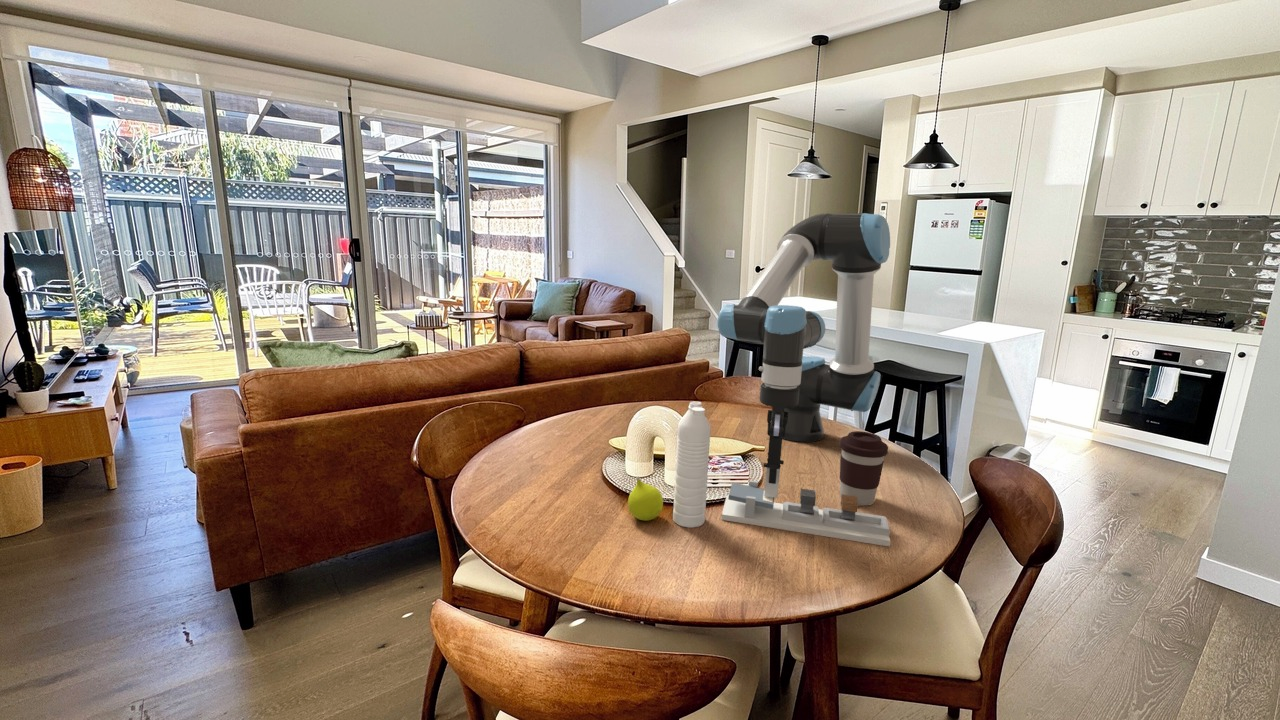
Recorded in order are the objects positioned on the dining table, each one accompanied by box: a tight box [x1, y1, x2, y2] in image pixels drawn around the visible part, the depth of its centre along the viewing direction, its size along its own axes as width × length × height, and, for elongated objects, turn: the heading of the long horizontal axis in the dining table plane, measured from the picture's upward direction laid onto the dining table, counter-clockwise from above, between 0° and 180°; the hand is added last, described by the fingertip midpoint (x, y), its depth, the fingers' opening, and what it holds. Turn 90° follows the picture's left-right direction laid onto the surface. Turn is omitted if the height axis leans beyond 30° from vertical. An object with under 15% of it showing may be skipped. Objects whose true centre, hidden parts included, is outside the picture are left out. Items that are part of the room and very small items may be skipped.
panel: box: [721, 479, 891, 548], centre depth 114 cm, size 9×32×6 cm, turn 75°
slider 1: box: [799, 488, 817, 515], centre depth 114 cm, size 3×3×5 cm
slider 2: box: [840, 494, 859, 521], centre depth 112 cm, size 3×3×5 cm
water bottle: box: [672, 400, 712, 529], centre depth 110 cm, size 9×6×25 cm
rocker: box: [728, 481, 775, 509], centre depth 117 cm, size 7×9×1 cm
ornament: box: [627, 473, 664, 522], centre depth 113 cm, size 7×7×10 cm
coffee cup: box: [839, 430, 889, 507], centre depth 125 cm, size 10×10×15 cm
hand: (771, 495), depth 115 cm, fingers closed
